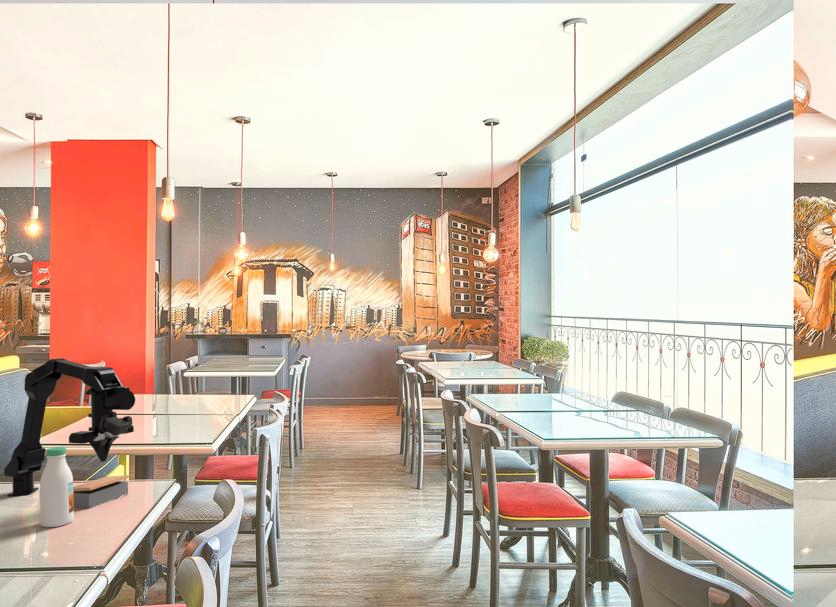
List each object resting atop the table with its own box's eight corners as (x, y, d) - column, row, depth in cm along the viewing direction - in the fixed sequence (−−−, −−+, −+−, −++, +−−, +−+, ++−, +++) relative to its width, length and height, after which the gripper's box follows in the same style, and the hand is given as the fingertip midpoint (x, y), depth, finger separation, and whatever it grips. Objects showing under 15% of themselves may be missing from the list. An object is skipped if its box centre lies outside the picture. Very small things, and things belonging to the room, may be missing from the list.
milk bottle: (63, 527, 158) (61, 450, 158) (33, 528, 158) (32, 451, 158) (80, 518, 166) (78, 444, 166) (52, 518, 166) (50, 445, 166)
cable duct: (66, 506, 177) (66, 492, 177) (106, 492, 190) (105, 479, 190) (89, 508, 174) (89, 494, 174) (128, 494, 187) (127, 481, 187)
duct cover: (66, 491, 177) (66, 489, 177) (106, 479, 190) (105, 476, 190) (90, 490, 174) (90, 487, 174) (129, 477, 187) (128, 475, 187)
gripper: (95, 415, 171) (97, 470, 170) (146, 405, 188) (148, 455, 188) (66, 414, 174) (68, 468, 174) (119, 404, 192) (120, 454, 191)
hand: (103, 461), depth 182 cm, fingers closed
